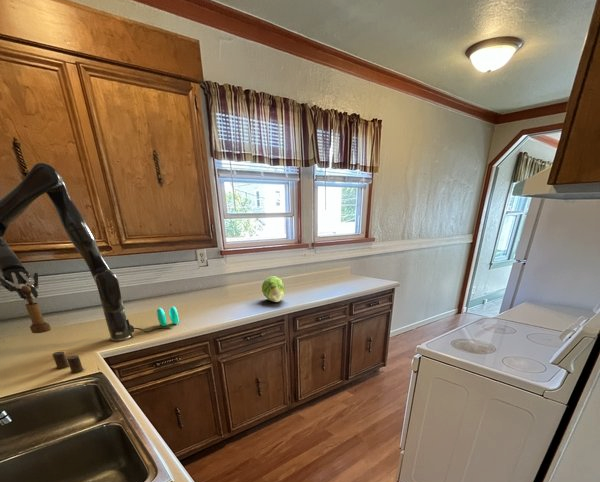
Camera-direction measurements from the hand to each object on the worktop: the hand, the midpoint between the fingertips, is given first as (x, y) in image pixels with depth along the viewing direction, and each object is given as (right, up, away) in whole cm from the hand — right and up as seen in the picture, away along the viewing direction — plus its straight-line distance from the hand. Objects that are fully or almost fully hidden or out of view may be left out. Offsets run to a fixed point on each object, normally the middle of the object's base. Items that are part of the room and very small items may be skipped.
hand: (30, 297), depth 126 cm
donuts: (+30, 0, +61) cm, 68 cm away
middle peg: (+7, -27, +8) cm, 29 cm away
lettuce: (+86, +27, +114) cm, 145 cm away
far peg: (+16, -29, +4) cm, 33 cm away
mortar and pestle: (-2, -12, +8) cm, 14 cm away
